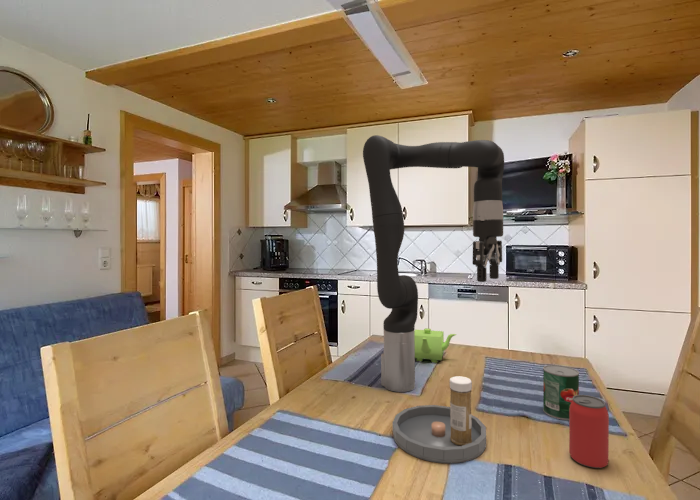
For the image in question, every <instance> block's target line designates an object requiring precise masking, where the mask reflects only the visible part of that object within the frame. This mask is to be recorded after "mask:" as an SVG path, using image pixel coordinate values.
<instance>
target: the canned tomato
mask: <svg viewBox="0 0 700 500" xmlns="http://www.w3.org/2000/svg"><path fill="white" fill-rule="evenodd" d="M542 375H543V376H542V377H543V385H542V386H543V401H542V402H543V408H542V410H543V413H544V414H546V415H547V416H549V417H551V418H554V419H558V420H562V421H569V408H570V404H571V402H572V400H573V399H572V398H573V396H576V395H580V393H579V390H580V382H579V381H580V372H579V370H577V369H575V368H573V367H570V366H567V365H566V366H565V365H560V364H547V365H545V366H543V373H542Z"/></svg>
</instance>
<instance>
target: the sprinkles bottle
mask: <svg viewBox="0 0 700 500" xmlns="http://www.w3.org/2000/svg"><path fill="white" fill-rule="evenodd" d="M472 389H473V385H472V380H471V378H469V377H466V376H461V375H460V376H459V375H458V376H456V375H455V376H452V377H450V378H449V390H450V395H449V397H450V401H449V403H450V404H449V405H450V406H449V407H450V424H451V437H450V439H451V441H452V442H453V443H454V444H456V445H460V446H463V445H466V444H469V443H472V438H471V427H472V419H471V415H472Z"/></svg>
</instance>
